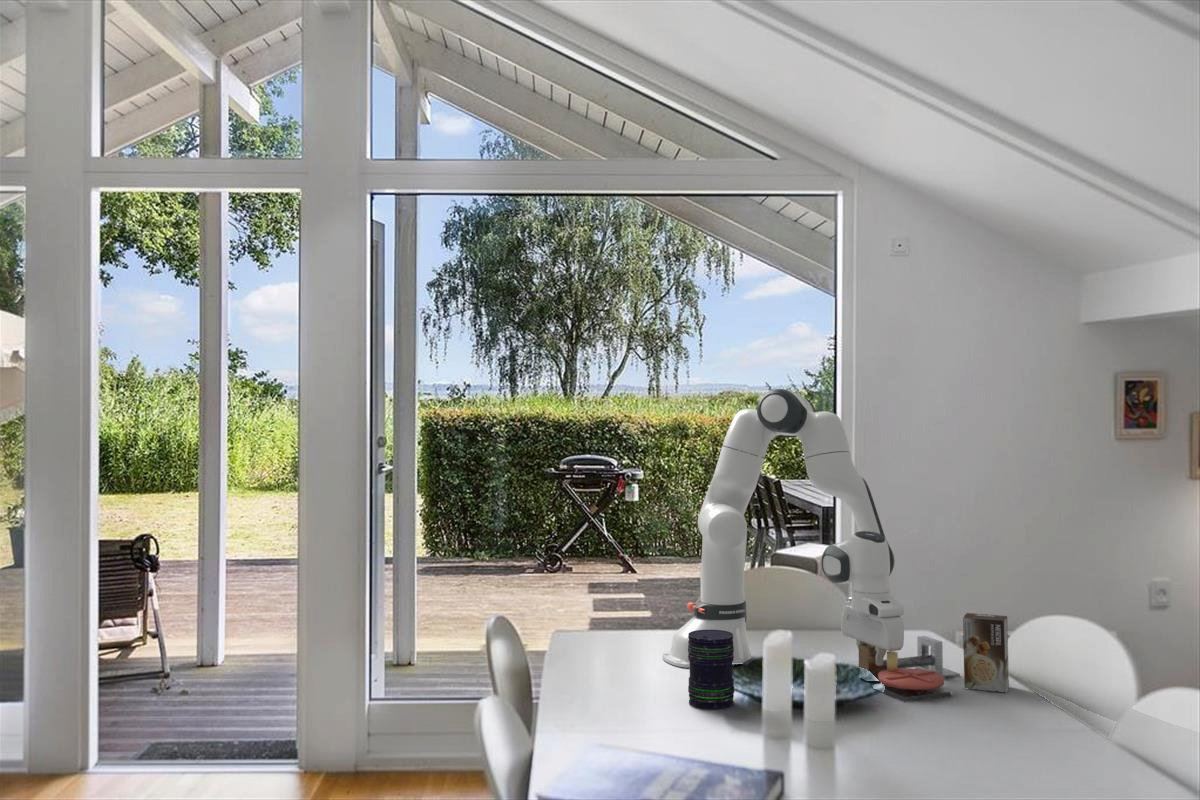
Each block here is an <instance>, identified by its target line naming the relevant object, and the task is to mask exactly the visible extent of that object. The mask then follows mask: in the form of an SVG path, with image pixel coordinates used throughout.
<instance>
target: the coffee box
mask: <svg viewBox="0 0 1200 800" xmlns="http://www.w3.org/2000/svg"><path fill="white" fill-rule="evenodd" d="M1008 626H1009V625H1008V616H1007V615H998V614H997V615H996V614H989V613H988V614H987V613H985V614H984V613H970V612H966V613H965V614H964V616H963V618H962V633H963V635H962V636H963V637H962V639H963V643H962V644H963V676H964V679H963V680H964V682H963V683H964V689H965V688H968V689H967V690H975V689H979V690H978V691H985V690H989V691H988V692H995V691H998V692H997V693H1004V692H1006V693H1007V692H1008V690H1009V689H1008V688H1010V678H1009V677H1010V676H1009V640H1008V639H1009V638H1008V637H1009V636H1008V635H1009V634H1008V633H1009V632H1008V629H1009V627H1008ZM999 691H1000V692H999Z"/></svg>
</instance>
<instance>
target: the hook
mask: <svg viewBox="0 0 1200 800" xmlns="http://www.w3.org/2000/svg"><path fill="white" fill-rule="evenodd" d="M876 653H877V651H876V650H875V646H873V645H870V644H868V643H867V644H859V650H858V668H859V667H861V668H864V669H867V670H868V671H870V672H871V673H872V674H873V675H874V676H875V677H876V678H877V679H878V673H879V672H881V671H883V670H887V659H883V665H882V666H877V665H874V664H873V657H875V656H876ZM921 666H931V654H929V655H925V656H918V655H916V656H909V657H898V668H911V669H913V668H915V667H921Z"/></svg>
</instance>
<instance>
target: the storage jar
mask: <svg viewBox="0 0 1200 800" xmlns="http://www.w3.org/2000/svg"><path fill="white" fill-rule="evenodd" d="M688 638H689V640H688V652H689V653H688V659H689V661H690V668H689V677H688V687H687V689H688V690H687V691H688V692H687V693H688V698H689V699H688V704H689V706H690V707H692V708H694V709H698V710H703V711H722V710H727V709H730V708H732V707H734V705H735V701H734V697H735V696H734V695H735V685H734V684H735V682H734V681H735V680H734V677H733V666H732V662H733V658H734V656H733V652H734V646H733V633H731V632H728V631H723V630H697V631H692V632H690V633H688Z"/></svg>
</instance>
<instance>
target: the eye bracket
mask: <svg viewBox="0 0 1200 800" xmlns="http://www.w3.org/2000/svg"><path fill="white" fill-rule="evenodd" d="M929 648H930V650H929ZM943 649H944V648H943V641H942V640H939V639H935V638H932V637H929V636H926V635H921V636H917V656H925V655H931V665H930V666H921V667H914V669H921V670H927V671H929V670H932V671H935V673H938V674H940V675H942V676H943V677H944V679H947V677H949V678H957V676H958V677H961V674H960V673H959V672H956V671H954V670H950V669H947V668H945V667H943V664H944V663H943V662H944V661H943V658H944V657H943V653H944V651H943Z"/></svg>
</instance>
